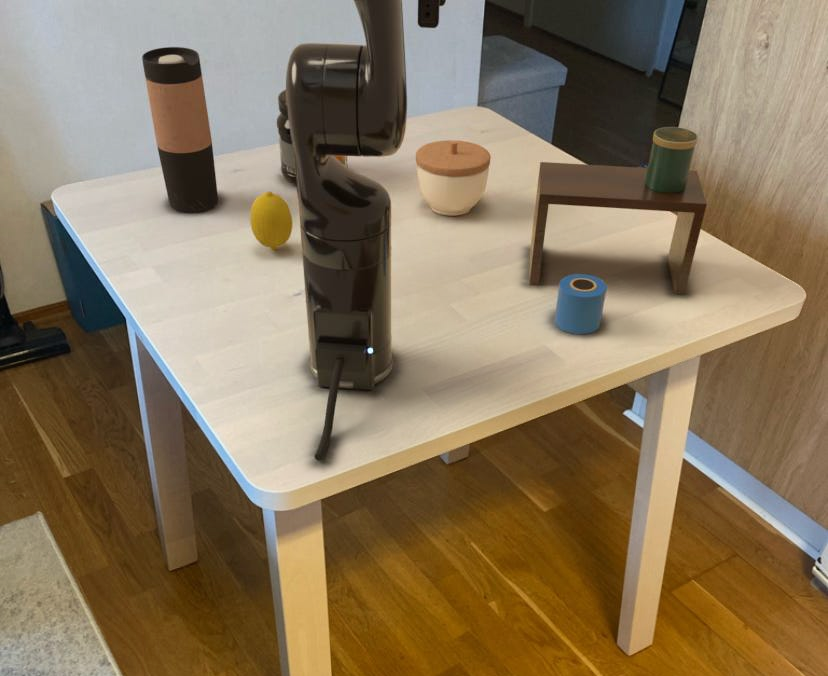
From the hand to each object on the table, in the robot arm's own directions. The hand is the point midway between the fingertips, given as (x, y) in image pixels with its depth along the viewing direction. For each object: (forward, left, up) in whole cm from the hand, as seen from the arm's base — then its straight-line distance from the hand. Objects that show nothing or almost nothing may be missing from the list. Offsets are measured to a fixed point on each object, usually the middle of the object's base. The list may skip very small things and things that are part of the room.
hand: (432, 15), depth 98 cm
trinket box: (+20, -2, -30) cm, 36 cm away
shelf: (+3, -24, -30) cm, 38 cm away
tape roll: (-11, -20, -30) cm, 38 cm away
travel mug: (+16, +36, -30) cm, 50 cm away
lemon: (+3, +21, -30) cm, 37 cm away
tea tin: (+3, -29, -18) cm, 35 cm away
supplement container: (+28, +20, -30) cm, 46 cm away
